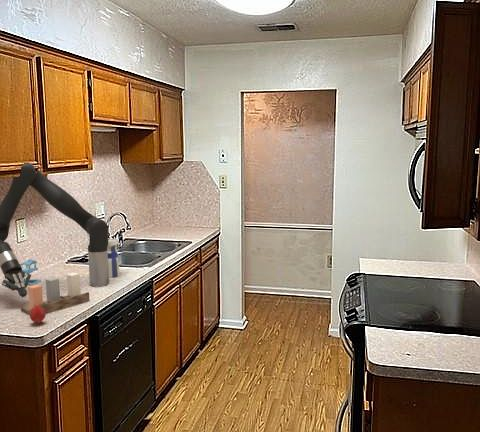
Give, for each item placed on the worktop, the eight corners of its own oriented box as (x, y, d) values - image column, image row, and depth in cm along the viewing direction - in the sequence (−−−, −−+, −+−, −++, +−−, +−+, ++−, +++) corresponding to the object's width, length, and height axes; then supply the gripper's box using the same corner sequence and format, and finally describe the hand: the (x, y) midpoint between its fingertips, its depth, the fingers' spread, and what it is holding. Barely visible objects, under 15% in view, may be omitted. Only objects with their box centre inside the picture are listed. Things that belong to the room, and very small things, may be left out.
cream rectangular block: (75, 293, 227) (74, 272, 225) (80, 295, 224) (79, 274, 223) (67, 295, 224) (66, 274, 222) (72, 297, 221) (71, 275, 220)
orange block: (38, 306, 209) (37, 284, 208) (43, 309, 207) (41, 286, 205) (29, 309, 206) (27, 286, 205) (34, 311, 204) (32, 288, 202)
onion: (27, 325, 194) (25, 305, 193) (37, 320, 199) (36, 301, 198) (38, 327, 192) (37, 307, 190) (49, 322, 197) (47, 302, 196)
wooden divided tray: (76, 296, 229) (75, 287, 228) (89, 301, 222) (89, 292, 221) (21, 311, 209) (20, 302, 209) (33, 317, 202) (33, 307, 202)
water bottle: (108, 279, 256) (105, 231, 252) (101, 275, 262) (99, 229, 258) (123, 276, 260) (121, 229, 256) (116, 272, 267) (114, 227, 263)
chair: (26, 280, 254) (24, 257, 252) (41, 281, 252) (39, 258, 250) (17, 284, 247) (15, 261, 245) (32, 285, 245) (30, 262, 243)
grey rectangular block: (55, 298, 219) (54, 277, 218) (60, 300, 217) (58, 278, 215) (47, 301, 216) (45, 279, 215) (51, 303, 214) (50, 280, 212)
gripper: (-4, 261, 211) (11, 295, 205) (26, 256, 221) (41, 287, 215) (-9, 271, 215) (6, 304, 209) (21, 265, 225) (36, 297, 219)
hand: (24, 296), depth 212 cm, fingers closed
